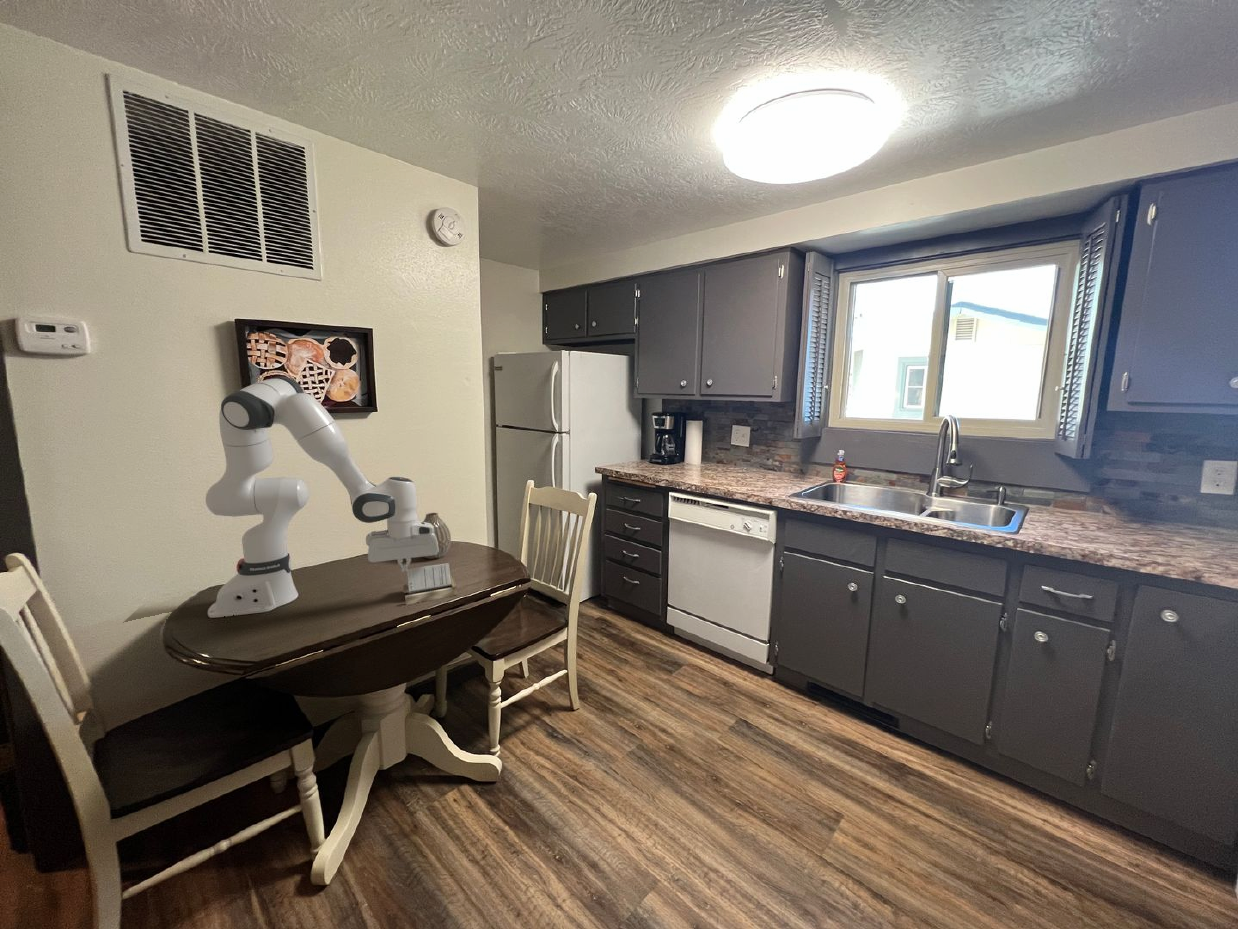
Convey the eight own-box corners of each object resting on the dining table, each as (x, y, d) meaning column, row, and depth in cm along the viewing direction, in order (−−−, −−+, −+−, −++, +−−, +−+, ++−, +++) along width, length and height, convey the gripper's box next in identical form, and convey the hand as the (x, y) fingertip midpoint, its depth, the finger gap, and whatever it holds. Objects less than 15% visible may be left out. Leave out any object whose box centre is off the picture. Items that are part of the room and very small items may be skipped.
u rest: (406, 604, 150) (405, 595, 150) (403, 591, 160) (402, 583, 160) (457, 595, 157) (456, 586, 156) (451, 583, 167) (451, 575, 166)
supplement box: (406, 571, 160) (447, 565, 166) (408, 594, 158) (449, 587, 164) (407, 568, 154) (449, 562, 160) (409, 592, 152) (451, 585, 158)
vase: (456, 551, 202) (453, 509, 200) (445, 561, 189) (442, 517, 187) (424, 551, 202) (421, 510, 199) (411, 562, 189) (408, 518, 187)
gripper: (365, 534, 144) (367, 579, 146) (438, 527, 153) (439, 570, 155) (365, 529, 150) (367, 573, 152) (436, 523, 159) (437, 564, 161)
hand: (404, 571), depth 154 cm, fingers closed
